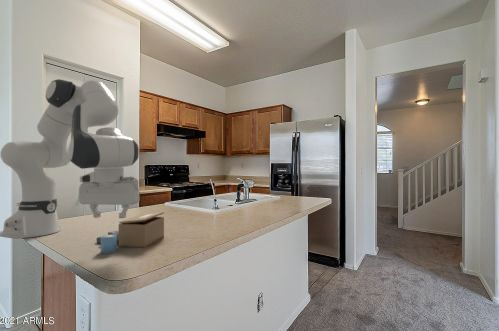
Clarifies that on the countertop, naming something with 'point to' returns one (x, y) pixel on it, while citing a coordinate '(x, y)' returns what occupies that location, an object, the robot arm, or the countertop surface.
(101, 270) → the countertop surface
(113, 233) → the toy gun
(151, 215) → the flap
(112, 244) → the light blue cube
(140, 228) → the carton
